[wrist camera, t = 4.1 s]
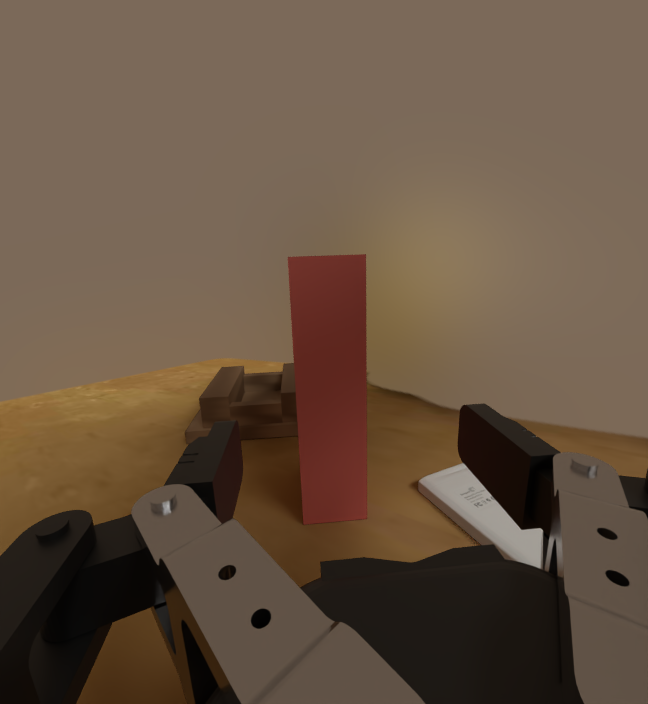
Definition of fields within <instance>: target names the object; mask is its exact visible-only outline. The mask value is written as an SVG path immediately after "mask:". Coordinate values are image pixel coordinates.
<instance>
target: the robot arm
mask: <svg viewBox="0 0 648 704" xmlns="http://www.w3.org/2000/svg"><path fill="white" fill-rule="evenodd" d="M458 452H459V456H460V458H461V460H462V462H463V463H464V464H465V466H466V467H467V468H468V469H469V470H470V471H471V472H472V474H473V475H474V476H475V477H476V478H477V479H478V480H479V482H480V483H481V484H482V485H483V486H484V487H485V488H486V490H487V491H488V492H489V493H490V494H491V495H492V497H493V498H494V499H495V500H496V501H497V502H498V503H499V505H500V506H501V507H502V508H503V509H504V510H505V511H506V513H507V514H508V515H509V516H510V517H511V518H512V519H513V521H514V522H515V523H516V524H517V525H518V526H519V528H520V529H521V530H527V529H537V528H541V529H542V530H543V531H542V538H541V569H540V568H537V567H535V566H532V565H529V564H525V563H522V562H518V561H513V560H508V559H504V557H503V556H502V555H501V553H500V552H499V550H498V549H497V548H496V546H495V545H494V544H491V545H481V546H471V547H461V548H452V549H450V550H447V551H444V552H442V553H439V554H436V555H433V556H431V557H428V558H425V559H423V560H420V561H417V562H412V563H409V562H400V561H391V560H383V559H374V558H365V557H363V558H353V559H344V560H334V561H324V562H320V564H321V578H319V579H316V580H314V581H312V582H310V583H308V584H306V585H304V586H302V587H301V588H299V586H298V585H297V584H296V583H295V582H294V581H293V580H292V579H291V578H290V577H289V576H288V575H287V574H286V573H285V571H284V570H283V569H282V568H281V567H280V566H279V565H278V564H277V563H276V562H275V561H274V560H273V559H272V558H271V557H270V555H269V554H268V553H267V552H266V551H265V550H264V549H263V548H262V547H261V546H260V545H259V544H258V543H257V542H256V540H255V539H254V538H253V537H252V536H251V535H250V534H249V533H248V532H247V531H246V530H245V529H244V528H243V527H242V525H241V524H240V523H239V522H238V521H237V520H235V519H232V518H233V514H234V510H235V506H236V502H237V498H238V494H239V490H240V486H241V482H242V475H243V460H242V450H241V441H240V431H239V424H238V421H237V420H233V421H218V422H215V423H214V424H213V426H212V428H211V430H210V432H209V434H208V436H205V437H198V438H197V439H196V440H194V441H193V442H192V443H190V444H189V445H188V446H187V448H186V449H185V451H184V453H183V456H181V458H180V459H179V461H178V464H176V466H175V468H174V469H173V471H172V473H171V474H170V476H169V478H168V479H167V481H166V483H165V485H164V486H163V487H159V488H157V489H154V490H152V491H150V492H148V493H147V494H145V495H144V496H142V497H141V498H140V499H139V500H138V501H137V502H136V503H135V504H134V506H133V508H132V513H131V514H130V515H128V516H125V517H122V518H119V519H115V520H112V521H108V522H105V523H101V524H98V525H93V520H92V517H91V514H90V513H88V512H86V511H83V510H71V511H66V512H62V513H58V514H55V515H53V516H50V517H48V518H46V519H43V520H41V521H39V522H38V523H36V524H34V525H33V526H31V527H30V528H28V529H27V530H26V531H24V532H23V533H22V534H21V535H20V536H19V537H18V538H17V539H16V540H15V541H14V542H13V543H12V544H11V545H10V546H9V547H8V549H7V550H6V551H5V552H4V553H3V554H2V555H1V556H0V704H76V703H77V700H78V698H79V696H80V694H81V691H82V689H83V687H84V685H85V683H86V680H87V678H88V676H89V674H90V672H91V669H92V667H93V665H94V663H95V660H96V658H97V656H98V654H99V652H100V649H101V647H102V645H103V643H104V641H105V638H106V636H107V634H108V632H109V630H110V627H111V625H112V622H115V621H117V620H120V619H122V618H125V617H127V616H130V615H132V614H135V613H137V612H140V611H143V610H145V609H148V608H150V607H151V611H152V613H153V615H154V618H155V620H156V623H157V625H158V627H159V630H160V632H161V634H162V637H163V639H164V641H165V644H166V646H167V649H168V651H169V653H170V656H171V658H172V660H173V663H174V665H175V667H176V670H177V673H178V675H179V678H180V681H181V685H182V688H183V692H184V695H185V699H186V702H187V704H648V469H647V474H646V478H638V477H628V476H619V475H618V473H617V471H616V470H615V469H614V468H613V467H612V466H610V465H609V464H607V463H605V462H604V461H601V460H599V459H597V458H594V457H591V456H588V455H584V454H579V453H572V452H564V453H561V452H559V451H558V450H556V449H555V448H553V447H552V446H550V445H549V444H548V443H546V442H545V441H543V440H542V439H540V438H539V437H536V435H535V434H533V433H532V432H530V431H527V429H526V428H524V427H523V426H521V425H520V424H519V423H517V422H515V421H513V420H511V419H508V418H506V417H503V416H502V415H500V414H499V413H497V412H496V411H495V410H493V409H492V408H490V407H489V406H487V405H486V404H472V405H463V406H462V407H461V409H460V418H459V433H458Z"/></svg>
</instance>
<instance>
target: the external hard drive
mask: <svg viewBox="0 0 648 704" xmlns="http://www.w3.org/2000/svg"><path fill="white" fill-rule="evenodd" d="M418 491H419V492H420V493H422V494H423V495H424V496H425V497H426V498H427V499H429V500H430V501H431V502H432V503H433V504H434V505H435V506H437V507H438V508H439V509H440V510H441V511H442V512H444V513H445V514H446V515H447V516H448V517H449V518H451V519H452V520H453V521H454V522H455V523H456V524H458V525H459V526H460V527H461V528H462V529H463V530H464V531H466V532H467V533H468V534H469V535H470V536H471V537H473V538H474V539H475V540H476V541H477V542H478V543H480V544H481V545H491V544H494V545H495V546H496V548H497V549H498V550H499V552H500V553H501V555H502V556H503V557H504V559H508V560H513V561H518V562H522V563H525V564H529V565H532V566H535V567H537V568H540V569H541V538H542V531H543V530H542V529H541V528H537V529H527V530H521V529H520V528H519V526H518V525H517V524H516V523H515V522H514V521H513V519H512V518H511V517H510V516H509V515H508V514H507V513H506V511H505V510H504V509H503V508H502V507H501V506H500V505H499V503H498V502H497V501H496V500H495V499H494V498H493V497H492V495H491V494H490V493H489V492H488V491H487V490H486V488H485V487H484V486H483V485H482V484H481V483H480V482H479V480H478V479H477V478H476V477H475V476H474V475H473V474H472V472H471V471H470V470H469V469H468V468H467V467H466V466H465V464H464V463H462V464H459V465H456V466H453V467H451V468H448V469H445V470H442V471H439V472H436V473H433V474H431V475H428V476H425V477H423V478H422V479H420V480H419V481H418Z"/></svg>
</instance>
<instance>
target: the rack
mask: <svg viewBox="0 0 648 704" xmlns="http://www.w3.org/2000/svg"><path fill="white" fill-rule="evenodd" d="M199 401H200V410H199V412H198V413H197V415H196V416H195V418H194V419H193V421H192V422H191V424H190V425H189V427H188V428H187V430H186V431H185V436H186V442H187V444H190V443H192V442H193V441H194V440H196V439H197V438H198V437H205V436H208V434H209V432H210V430H211V428H212V426H213V424H214V423H215V422H218V421H233V420H237V421H238V424H239V431H240V440H246V439H260V438H273V437H287V436H298V423H297V405H296V388H295V371H294V363H288V364H284V365H283V372H269V373H252V374H244V366H236V367H222V368H221V369H220V370H219V372H218V373H217V374H216V376H215V377H214V379H213V380H212V381H211V383H210V384H209V385H208V387H207V388H206V390H205V391H204V392H203V394H202V395H201V396H200V398H199Z"/></svg>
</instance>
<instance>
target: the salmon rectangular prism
mask: <svg viewBox="0 0 648 704" xmlns="http://www.w3.org/2000/svg"><path fill="white" fill-rule="evenodd" d="M288 268H289V286H290V302H291V320H292V337H293V354H294V371H295V388H296V405H297V423H298V440H299V457H300V474H301V491H302V508H303V525H306V524H316V523H327V522H338V521H349V520H360V519H367V387H366V254H365V255H336V256H335V255H334V256H303V257H288Z"/></svg>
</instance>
